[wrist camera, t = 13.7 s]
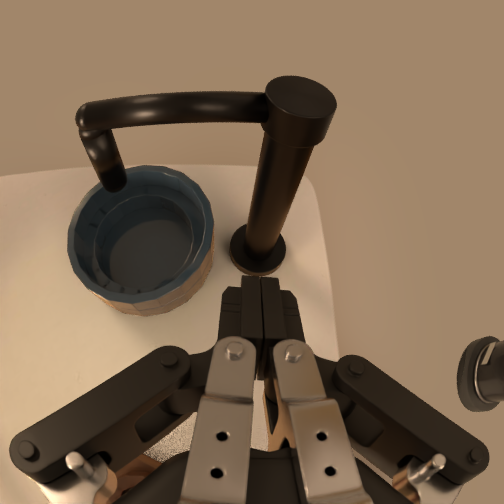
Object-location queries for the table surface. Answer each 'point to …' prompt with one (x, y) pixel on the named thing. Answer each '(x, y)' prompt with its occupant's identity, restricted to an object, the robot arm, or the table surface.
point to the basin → (143, 241)
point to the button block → (133, 475)
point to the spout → (207, 118)
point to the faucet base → (269, 208)
